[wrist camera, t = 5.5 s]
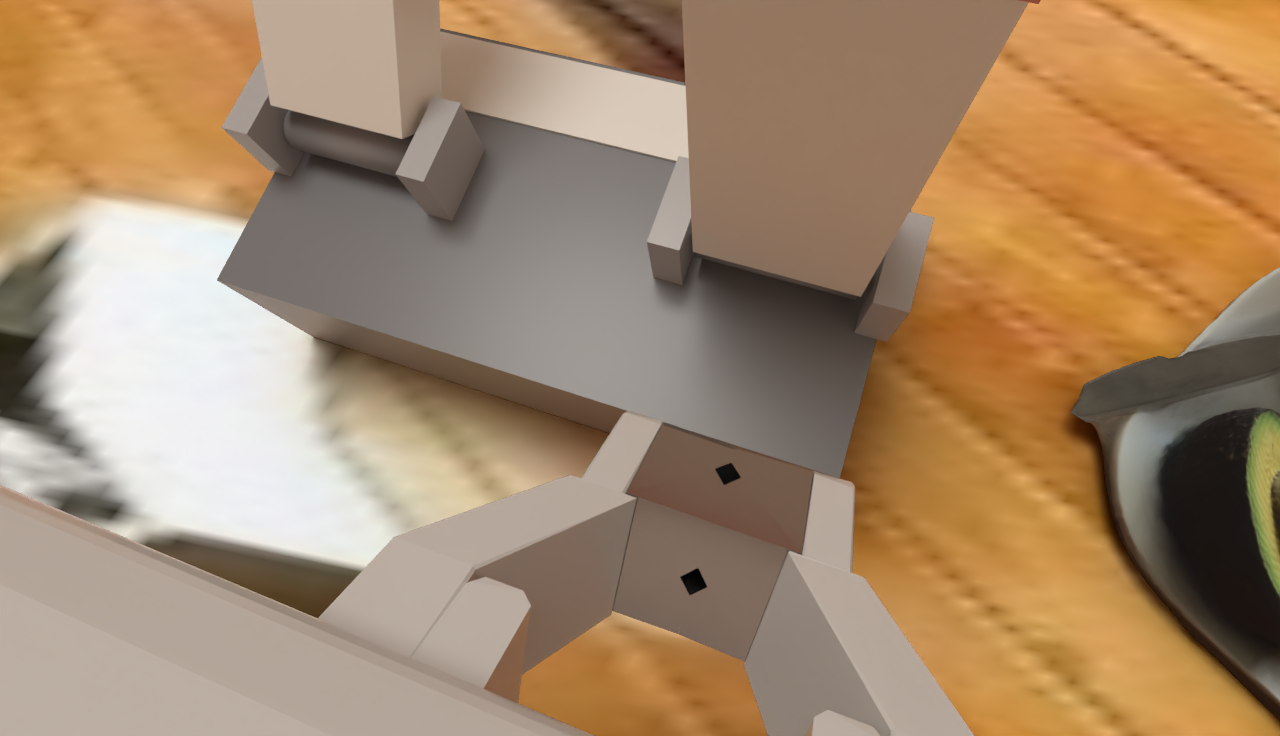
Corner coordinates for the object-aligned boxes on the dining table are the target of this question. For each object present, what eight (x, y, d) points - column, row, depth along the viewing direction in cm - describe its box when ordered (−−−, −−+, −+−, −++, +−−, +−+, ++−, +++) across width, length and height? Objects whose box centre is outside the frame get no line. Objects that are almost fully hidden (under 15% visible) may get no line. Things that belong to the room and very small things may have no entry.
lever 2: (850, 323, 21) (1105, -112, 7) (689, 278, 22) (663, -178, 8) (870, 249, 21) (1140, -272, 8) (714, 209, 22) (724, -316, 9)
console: (817, 501, 25) (869, 469, 17) (306, 334, 29) (153, 245, 21) (892, 226, 28) (966, 88, 20) (417, 108, 32) (320, -46, 24)
